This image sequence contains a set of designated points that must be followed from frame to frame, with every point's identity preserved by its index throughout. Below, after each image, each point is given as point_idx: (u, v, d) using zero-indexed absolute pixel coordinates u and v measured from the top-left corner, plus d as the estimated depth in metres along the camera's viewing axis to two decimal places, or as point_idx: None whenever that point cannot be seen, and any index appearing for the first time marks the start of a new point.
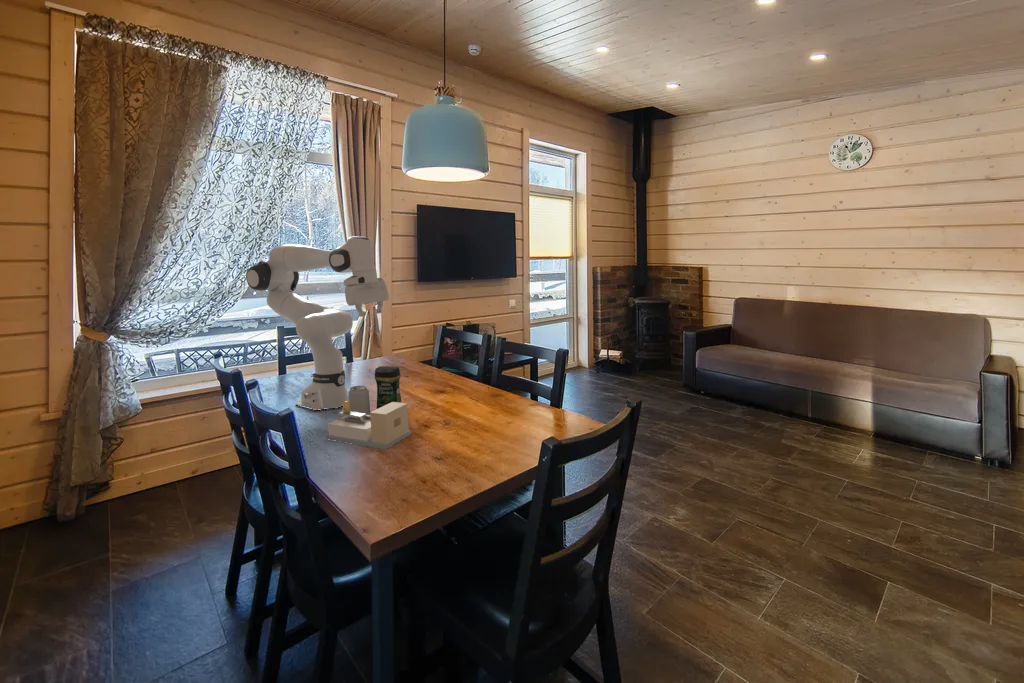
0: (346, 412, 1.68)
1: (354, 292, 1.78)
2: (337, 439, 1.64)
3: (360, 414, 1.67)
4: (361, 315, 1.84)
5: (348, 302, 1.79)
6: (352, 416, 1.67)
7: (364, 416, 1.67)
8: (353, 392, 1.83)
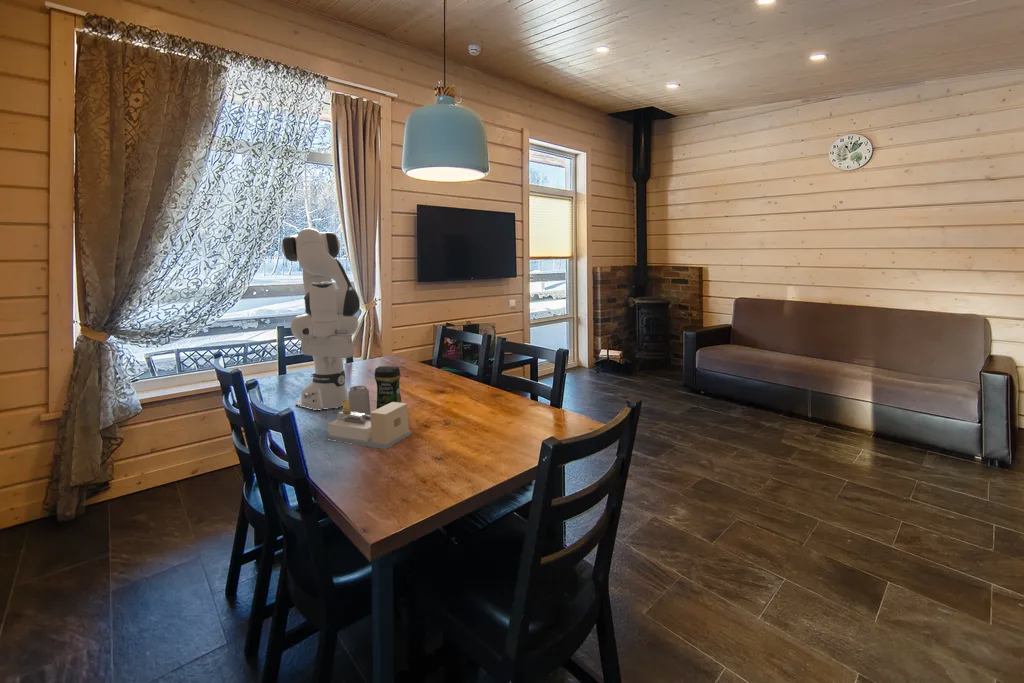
0: (346, 412, 1.68)
1: (301, 342, 1.69)
2: (337, 439, 1.64)
3: (360, 414, 1.67)
4: None
5: None
6: (352, 416, 1.67)
7: (364, 416, 1.67)
8: (353, 392, 1.83)
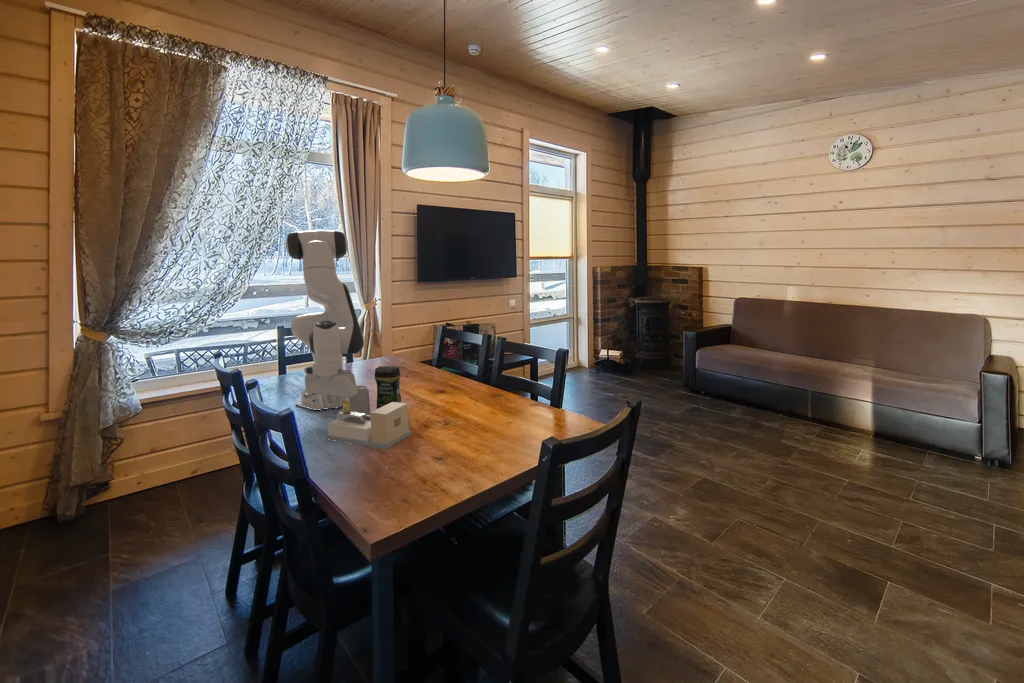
0: (346, 412, 1.68)
1: (305, 380, 1.71)
2: (337, 439, 1.64)
3: (360, 414, 1.67)
4: None
5: None
6: (352, 416, 1.67)
7: (364, 416, 1.67)
8: None
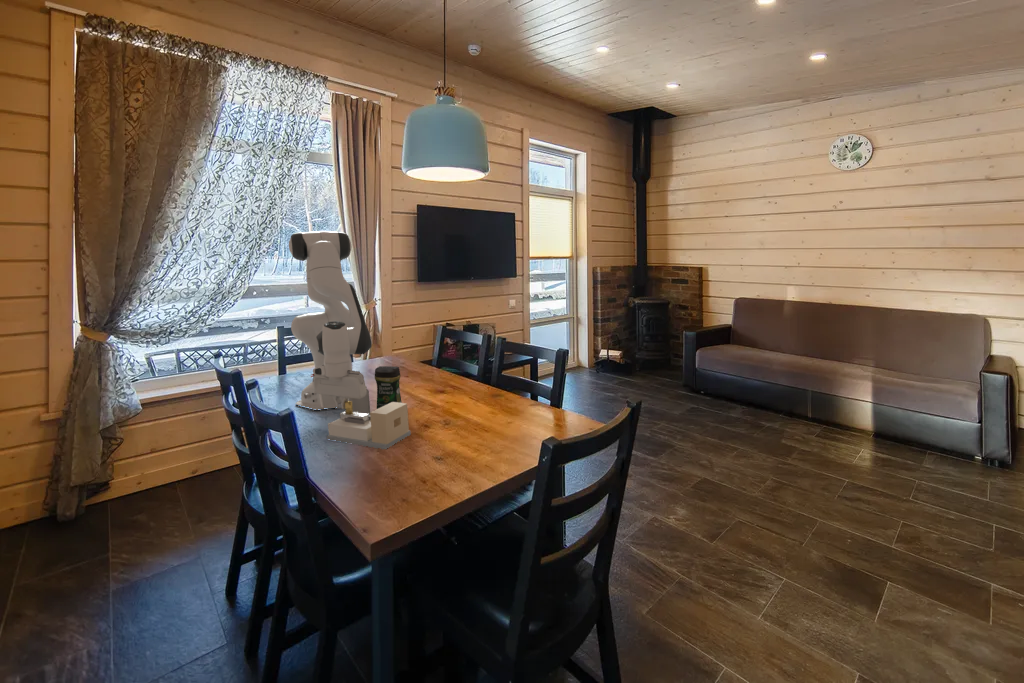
0: (349, 412, 1.68)
1: (313, 381, 1.70)
2: (337, 439, 1.64)
3: (363, 414, 1.67)
4: None
5: None
6: (355, 416, 1.66)
7: (367, 416, 1.67)
8: None
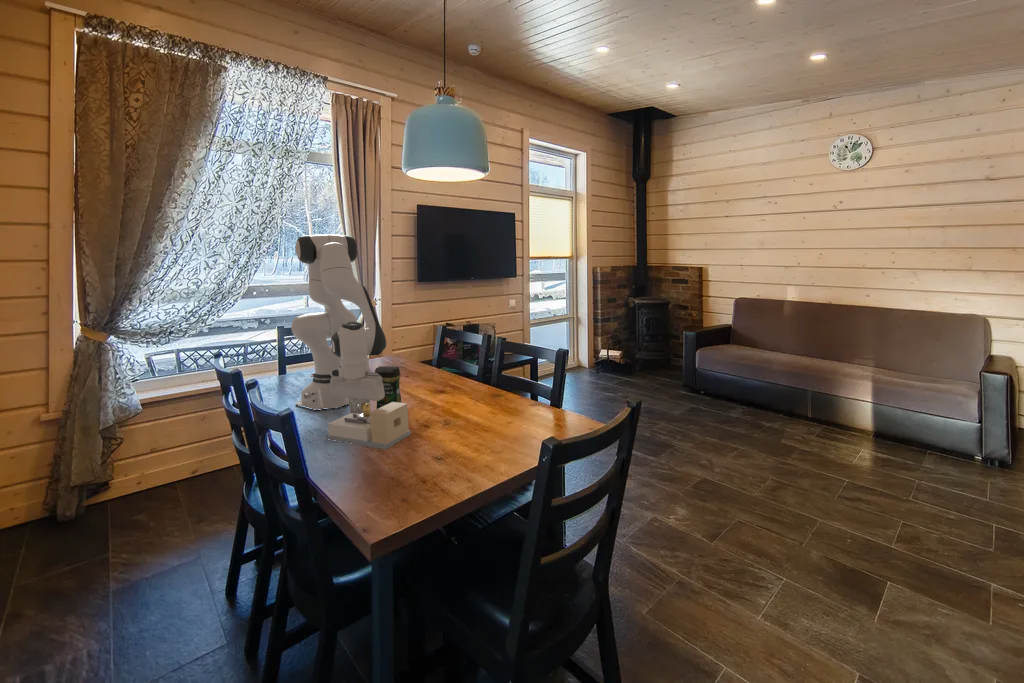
0: (366, 415, 1.65)
1: (330, 383, 1.67)
2: (337, 439, 1.64)
3: None
4: None
5: None
6: None
7: None
8: None
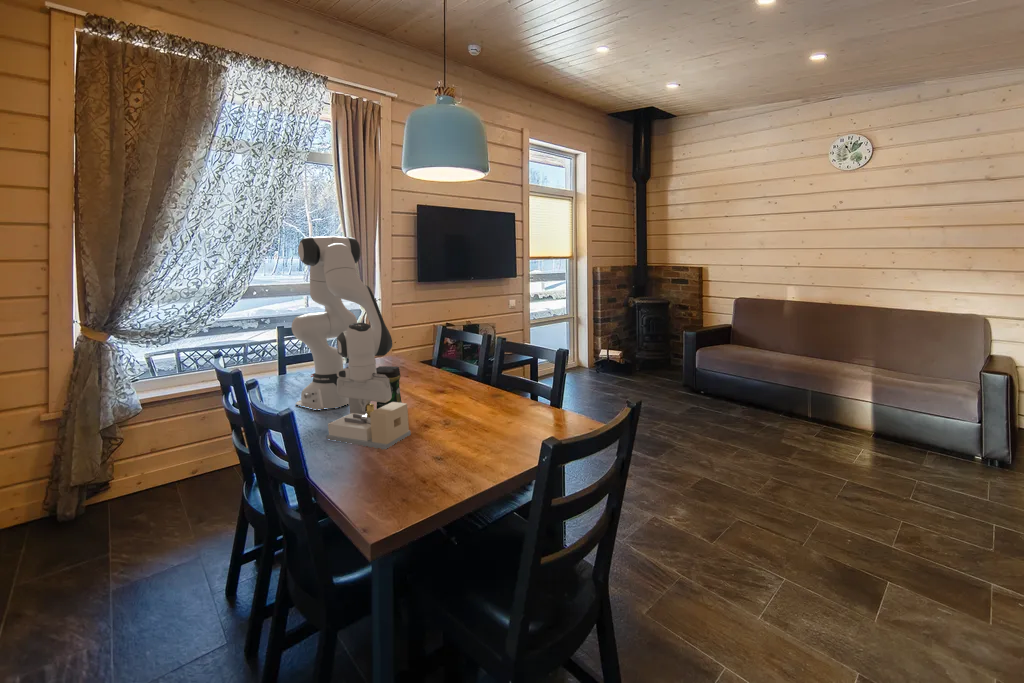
0: None
1: (337, 384, 1.66)
2: (337, 439, 1.64)
3: None
4: None
5: None
6: None
7: None
8: None
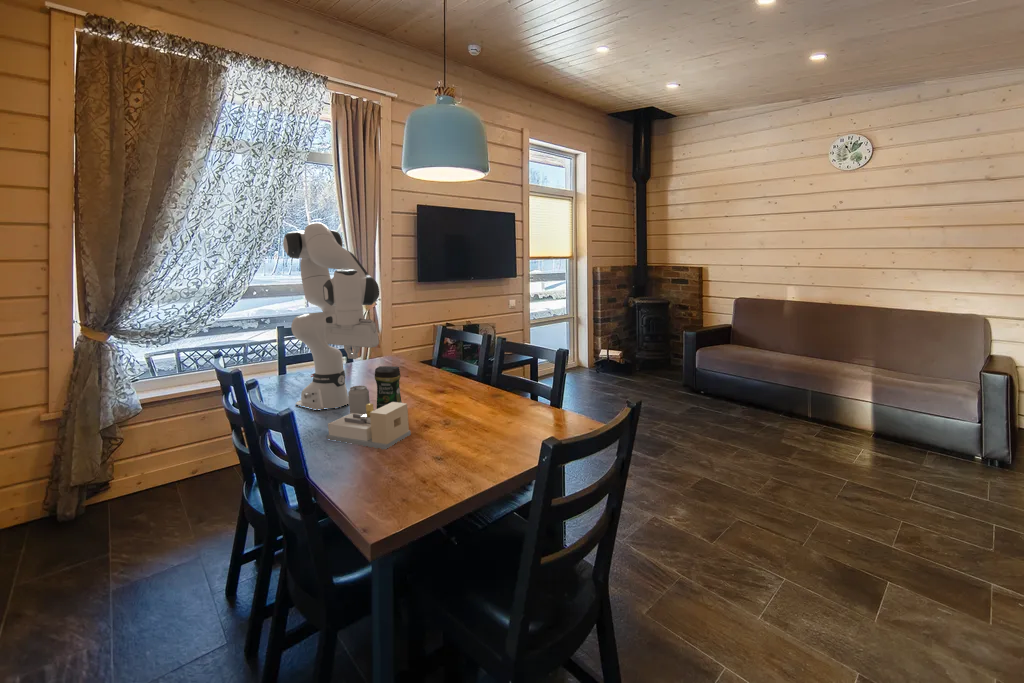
0: None
1: (324, 331, 1.65)
2: (337, 439, 1.64)
3: None
4: None
5: None
6: None
7: None
8: (353, 392, 1.83)
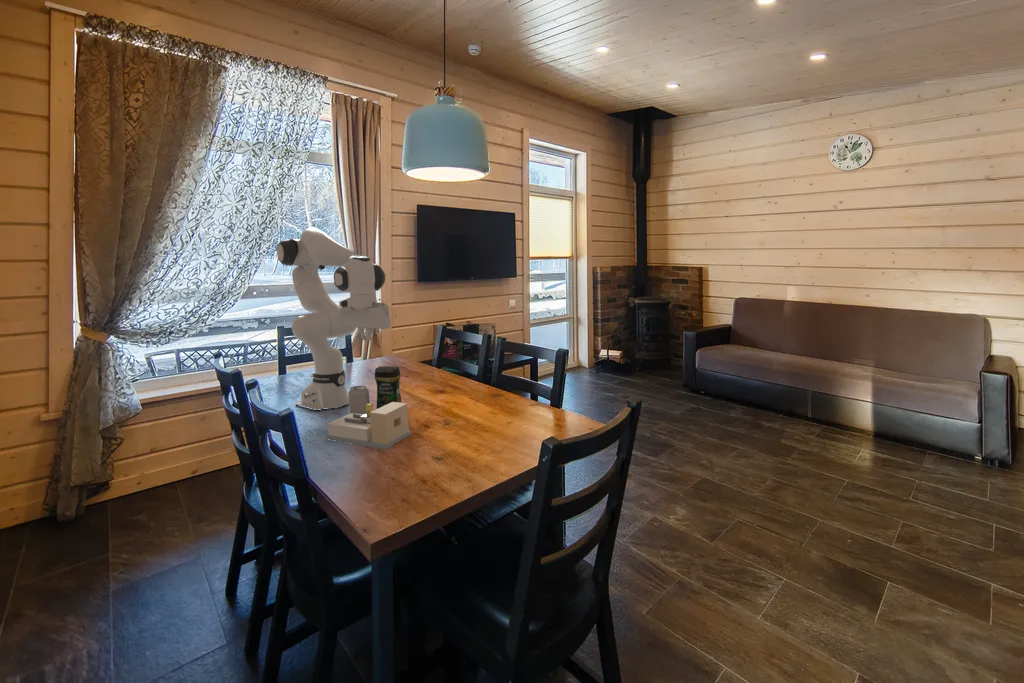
0: None
1: (339, 314, 1.77)
2: (337, 439, 1.64)
3: None
4: None
5: None
6: None
7: None
8: (353, 392, 1.83)
